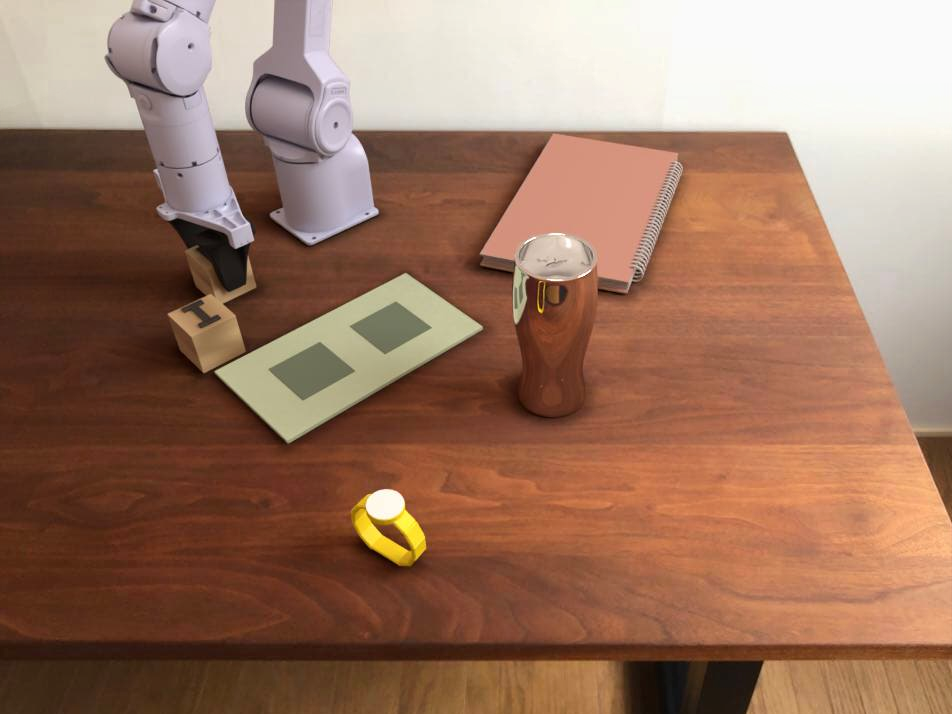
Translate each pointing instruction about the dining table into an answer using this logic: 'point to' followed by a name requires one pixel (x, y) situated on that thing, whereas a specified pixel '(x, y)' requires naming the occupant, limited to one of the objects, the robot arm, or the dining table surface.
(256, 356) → the word mat
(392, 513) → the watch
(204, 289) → the block
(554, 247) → the beer glass
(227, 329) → the block
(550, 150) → the notebook
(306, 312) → the dining table surface
